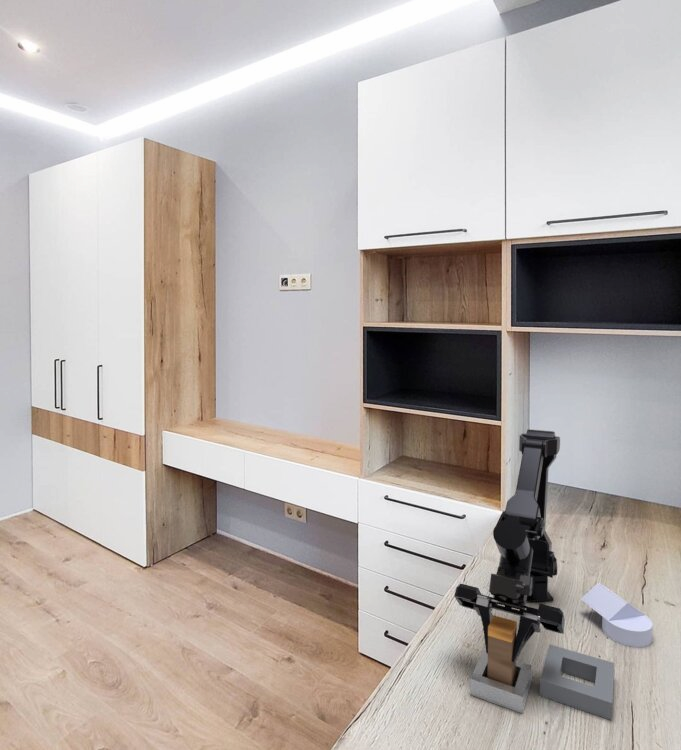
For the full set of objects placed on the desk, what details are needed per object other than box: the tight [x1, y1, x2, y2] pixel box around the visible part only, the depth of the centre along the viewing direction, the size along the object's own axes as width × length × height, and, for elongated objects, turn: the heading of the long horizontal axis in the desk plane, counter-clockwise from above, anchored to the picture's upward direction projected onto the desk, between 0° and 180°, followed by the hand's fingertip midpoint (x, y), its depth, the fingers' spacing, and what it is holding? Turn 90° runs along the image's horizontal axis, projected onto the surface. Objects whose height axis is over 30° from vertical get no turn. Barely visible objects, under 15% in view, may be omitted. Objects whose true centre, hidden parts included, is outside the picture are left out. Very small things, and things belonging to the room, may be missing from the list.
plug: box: [487, 614, 518, 687], centre depth 88 cm, size 4×4×12 cm
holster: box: [469, 649, 533, 714], centre depth 88 cm, size 9×9×3 cm
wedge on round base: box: [580, 582, 654, 648], centre depth 105 cm, size 9×7×13 cm
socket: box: [539, 644, 615, 721], centre depth 88 cm, size 11×11×3 cm
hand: (500, 657), depth 87 cm, fingers closed on plug, 4 cm apart
